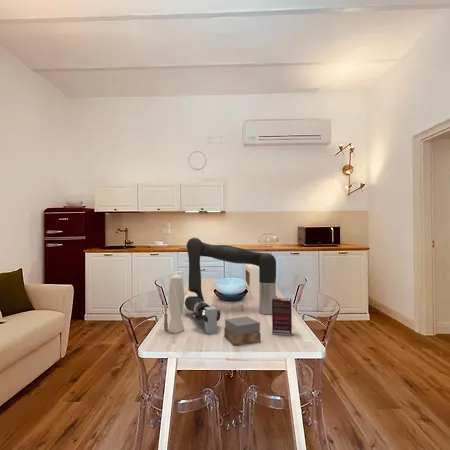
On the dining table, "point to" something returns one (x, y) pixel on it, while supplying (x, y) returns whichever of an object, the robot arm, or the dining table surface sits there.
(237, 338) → the walnut slab
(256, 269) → the gable box
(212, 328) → the slate block
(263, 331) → the dining table surface
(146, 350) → the dining table surface
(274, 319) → the supplement box
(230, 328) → the charcoal block
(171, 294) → the skyscraper
